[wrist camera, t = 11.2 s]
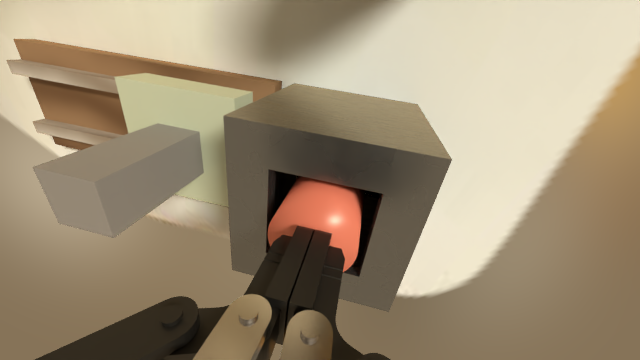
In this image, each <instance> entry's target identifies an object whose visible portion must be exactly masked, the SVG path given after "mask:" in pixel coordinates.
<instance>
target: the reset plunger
mask: <svg viewBox="0 0 640 360" xmlns="http://www.w3.org/2000/svg"><path fill="white" fill-rule="evenodd" d="M364 192H365V190H363V189H358V188H354V187H349V186H344V185H340V184H335V183H330V182H326V181H321V180H316V179H312V178H307V177H302V176H299V177H298V178H297V180H296V181H295V183H294V185H293V186H292V188H291V189H290V191H289V193H288V194H287V196H286V197H285V199H284V201H283V202H282V204H281V205H280V207H279V209H278V210H277V212H276V214H275V215H274V217H273V218H272V220H271V222H270V224H269V227H268V240H269V244H270V247H271V245H272V243H273V242H274V241H275V240H276V239H277V238H279V237H280V236H281V235H287V236H291V237H292V236H293V234H294V232H295V229H296V227H297V226H303V227H307V228H311V229H314V232H315V230H320V231H324V232H328V233H332V237H331V242H330V246H333V247H337V248H341V249H342V251H343V254H344V257H345V262H344V268H343V272H344V271H346V270H347V269H348V268H349V267H351V265H352V264H353V263H354V261H355V260H356V257H357V254H358V248H359V238H360V229H361V220H362V211H363V202H364Z"/></svg>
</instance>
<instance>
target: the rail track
mask: <svg viewBox="0 0 640 360" xmlns="http://www.w3.org/2000/svg"><path fill="white" fill-rule="evenodd" d="M14 42H15V44H16V47H17V49H18V52H19V54H20V57H21V59H22V60H7V63H8V65H9V67H10V70H11V72H12V74H17V75H22V76H27V77H29V79H30V82H31V84H32V87H33V89H34V92H35V94H36V97H37V99H38V102H39V104H40V107H41V109H42V112H43V114H44V117H45V119H42V120H37V121H33V124H34V126H35V128H36V131H37V132H38V133H43V134H47V135H52V137H53V139H54V142H55V144H58V145H62V146H66V147H71V148H75V149H80V150H83V149H86V148H89V147H92V146H94V145H97V144H100V143H103V142H106V141H109V140H111V139H114V138H117V137H120V136H123V135H126V134H128V130H127V126H126V122H125V118H124V114H123V110H122V106H121V102H120V98H119V93H118V89H117V85H116V81H115V77H116V76H125V75H133V74H141V73H150V74H155V75H161V76H166V77H172V78H178V79H183V80H189V81H195V82H200V83H206V84H211V85H217V86H223V87H228V88H234V89H240V90H245V91H251V92H253V102H255V101H257V100H259V99H261V98H263V97H266V96H268V95H270V94H272V93H275V92H277V91H279V90H281V87H282V81H277V80H271V79H265V78H259V77H254V76H248V75H242V74H236V73H230V72H224V71H218V70H212V69H207V68H201V67H195V66H189V65H183V64H177V63H171V62H165V61H159V60H154V59H148V58H142V57H136V56H130V55H124V54H118V53H112V52H107V51H101V50H95V49H89V48H83V47H77V46H71V45H65V44H60V43H54V42H48V41H42V40H36V39H14Z"/></svg>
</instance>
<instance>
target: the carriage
mask: <svg viewBox="0 0 640 360" xmlns="http://www.w3.org/2000/svg"><path fill="white" fill-rule="evenodd" d="M115 81H116V85H117V89H118V93H119V98H120V102H121V106H122V110H123V114H124V118H125V122H126V126H127V130H128V134H126V135H123V136H120V137H117V138H114V139H111V140H109V141H106V142H103V143H100V144H97V145H94V146H92V147H89V148H86V149H83V150H80V151H77V152H75V153H72V154H69V155H66V156H63V157H60V158H57V159H55V160H52V161H49V162H46V163H43V164H41V165H38V166H35V167H33V169H34V171H35V174H36V176H37V178H38V180H39V182H40V184H41V186H42V188H43V190H44V192H45V195H46V197H47V199H48V201H49V203H50V205H51V208H52V210H53V212H54V214H55V216H56V218H57V220H58V223H60V224H64V225H67V226H71V227H75V228H79V229H83V230H86V231H90V232H93V233H97V234H101V235H105V236H108V237H112V238H114V237H116V236H117V235H119V234H120V233H121V232H122V231H124V230H125V229H127V228H128V227H129V226H131V225H132V224H134V223H135V222H137V221H138V220H139V219H140V218H142V217H143V216H145V215H146V214H148V213H149V212H150V211H152V210H153V209H154V208H156V207H157V206H159V205H160V204H161V203H163V202H164V201H166V200H167V199H168V198H170V197H171V196H172V195H174V194H175V195H179V196H183V197H187V198H192V199H196V200H200V201H204V202H208V203H213V204H217V205H221V206H225V207H229V206H228V189H227V172H226V155H225V137H224V120H223V116H224V115H226V114H228V113H230V112H232V111H235V110H237V109H239V108H241V107H244V106H246V105H248V104H250V103H252V102H253V92H251V91H245V90H240V89H234V88H228V87H223V86H217V85H211V84H206V83H200V82H195V81H189V80H183V79H178V78H172V77H166V76H161V75H155V74H150V73H141V74H133V75H125V76H116V77H115Z"/></svg>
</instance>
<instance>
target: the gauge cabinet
mask: <svg viewBox="0 0 640 360" xmlns="http://www.w3.org/2000/svg"><path fill="white" fill-rule="evenodd" d="M223 120H224V137H225V155H226V172H227V189H228V206H229V224H230V241H231V256H232V270H235V271H239V272H242V273H246V274H250V275H254V276H255V274H256V273H257V271H258V269H259V267H260V265H261V264H262V262H263V261H264V258H265V256H266V254H267V253H268V251H269V249H270V244H269V240H268V227H269V224H270V222H271V220H272V218H273V217H274V215H275V214H276V212H277V210H278V209H279V207H280V205H281V204H282V202H283V201H284V199H285V197H286V196H287V194H288V193H289V191H290V189H291V188H292V186H293V185H294V183H295V181H296V176H297V175H298V176H302V177H307V178H312V179H316V180H321V181H326V182H330V183H335V184H340V185H344V186H349V187H354V188H358V189H363V190H368V191H372V192H377V193H380V196H379V199H377V198H372V197H368V196H364V202H363V211H362V220H361V229H360V238H359V248H358V254H357V257H356V260H355V261H354V263H353V264H352V265H351V267H349V268H348V269H347V270H346V271H344V272H343V274H342V280H341V286H340V292H339V299H343V300H347V301H350V302H354V303H358V304H362V305H366V306H369V307H373V308H377V309H380V310H384V311H388V312H389V310H390V307H391V305H392V303H393V300H394V298H395V296H396V293H397V291H398V288H399V286H400V284H401V281H402V279H403V276H404V274H405V271H406V269H407V267H408V264H409V262H410V259H411V257H412V255H413V252H414V250H415V247H416V245H417V243H418V240H419V238H420V235H421V233H422V230H423V228H424V226H425V223H426V221H427V218H428V216H429V214H430V211H431V209H432V206H433V204H434V202H435V199H436V197H437V194H438V192H439V189H440V187H441V185H442V182H443V180H444V177H445V175H446V173H447V170H448V168H449V165H450V163H451V161H452V159H451V157H450V156H449V154H448V153H447V151H446V149H445V148H444V146H443V144H442V143H441V141H440V140H439V138H438V136H437V135H436V133H435V132H434V130H433V128H432V127H431V125H430V124H429V122H428V120H427V119H426V117H425V115H424V114H423V112H422V111H421V109H420V107H419V106H418V104H412V103H407V102H401V101H395V100H389V99H383V98H377V97H371V96H365V95H359V94H354V93H348V92H342V91H336V90H330V89H324V88H318V87H312V86H307V85H301V84H292V85H290V86H288V87H286V88H283V89H281V90H279V91H277V92H275V93H272V94H270V95H268V96H266V97H263V98H261V99H259V100H257V101H255V102H252V103H250V104H248V105H246V106H244V107H241V108H239V109H237V110H235V111H232V112H230V113H228V114H226V115H224V116H223Z"/></svg>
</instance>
